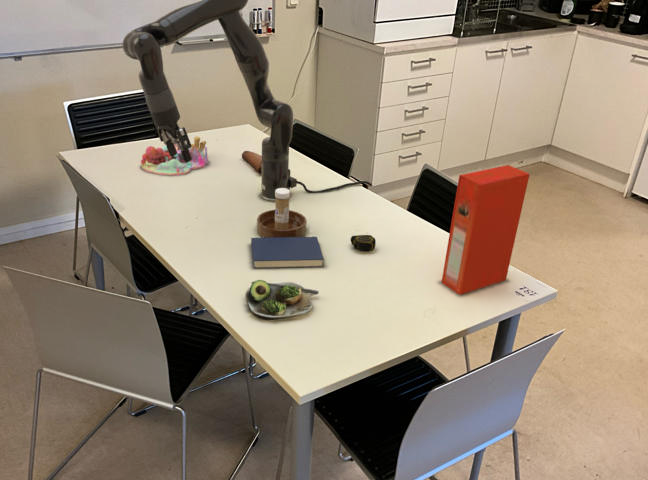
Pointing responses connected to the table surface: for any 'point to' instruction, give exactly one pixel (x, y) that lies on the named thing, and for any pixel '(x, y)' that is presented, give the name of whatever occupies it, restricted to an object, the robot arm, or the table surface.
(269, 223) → the bowl
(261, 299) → the salad plate
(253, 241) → the book
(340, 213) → the table surface
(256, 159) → the sunglasses case
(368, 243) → the tape measure
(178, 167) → the colorful candy landscape
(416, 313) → the table surface
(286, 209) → the sprinkles bottle
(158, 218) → the table surface
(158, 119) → the robot arm
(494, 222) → the file binder
